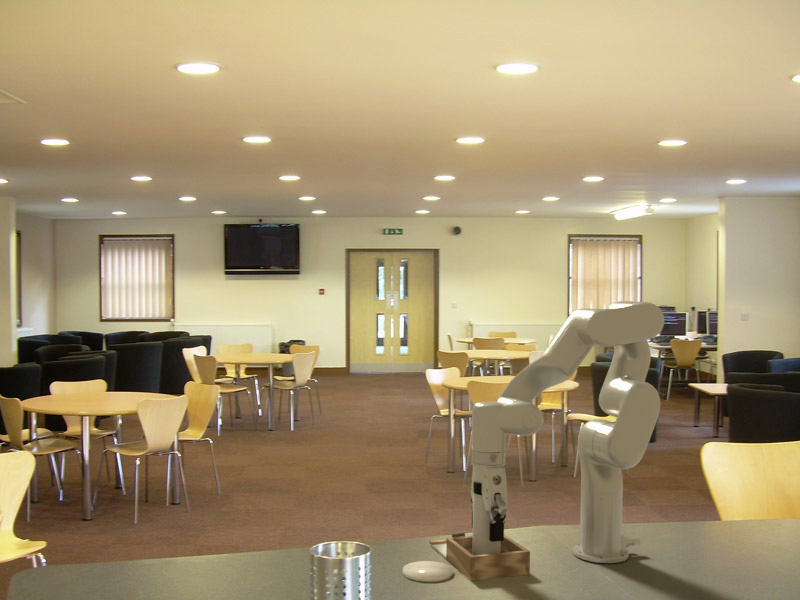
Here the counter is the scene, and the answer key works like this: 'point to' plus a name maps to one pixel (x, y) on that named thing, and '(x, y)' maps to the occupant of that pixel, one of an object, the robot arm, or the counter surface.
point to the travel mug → (482, 526)
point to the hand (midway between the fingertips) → (487, 534)
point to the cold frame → (484, 558)
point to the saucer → (427, 571)
